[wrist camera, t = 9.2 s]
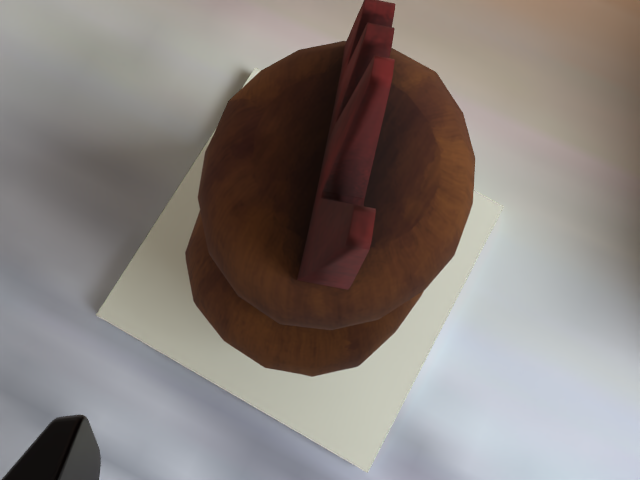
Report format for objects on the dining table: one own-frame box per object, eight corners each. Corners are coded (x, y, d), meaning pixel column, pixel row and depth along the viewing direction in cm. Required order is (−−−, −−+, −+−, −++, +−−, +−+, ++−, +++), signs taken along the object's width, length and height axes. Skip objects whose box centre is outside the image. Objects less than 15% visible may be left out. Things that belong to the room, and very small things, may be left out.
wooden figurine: (329, 400, 19) (515, 602, 4) (179, 304, 19) (-180, 153, 4) (433, 226, 20) (869, -116, 5) (291, 138, 20) (321, -429, 5)
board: (364, 469, 19) (367, 473, 18) (101, 316, 19) (96, 315, 19) (497, 210, 21) (503, 206, 20) (255, 75, 21) (255, 67, 21)
